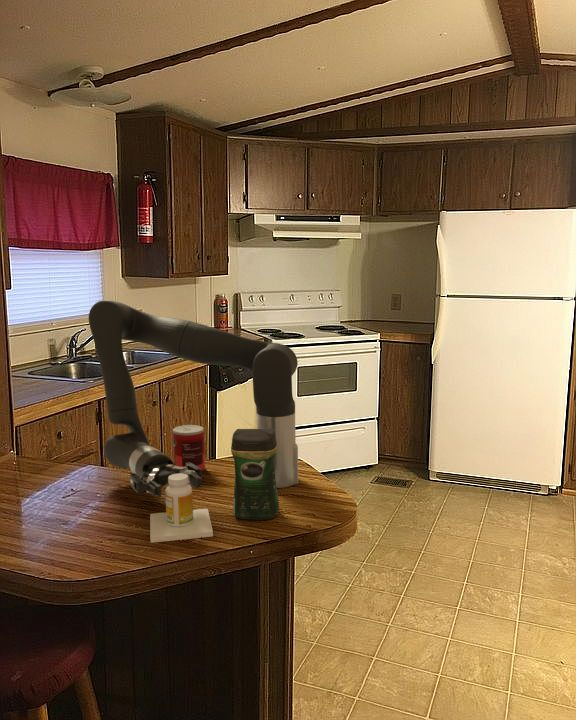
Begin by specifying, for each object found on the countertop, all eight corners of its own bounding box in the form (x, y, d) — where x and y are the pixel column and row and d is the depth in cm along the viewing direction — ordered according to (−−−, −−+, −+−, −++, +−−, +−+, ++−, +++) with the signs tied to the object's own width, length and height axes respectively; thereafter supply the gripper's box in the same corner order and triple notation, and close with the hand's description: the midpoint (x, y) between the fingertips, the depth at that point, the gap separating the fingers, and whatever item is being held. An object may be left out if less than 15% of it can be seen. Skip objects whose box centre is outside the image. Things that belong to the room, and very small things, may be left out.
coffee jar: (280, 507, 143) (279, 424, 140) (276, 522, 136) (274, 434, 133) (236, 506, 144) (234, 424, 141) (230, 521, 137) (227, 434, 134)
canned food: (187, 463, 174) (185, 423, 172) (211, 468, 170) (210, 427, 168) (168, 472, 167) (166, 430, 166) (192, 477, 163) (191, 434, 161)
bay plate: (207, 512, 141) (207, 508, 141) (213, 536, 129) (212, 531, 129) (150, 518, 139) (150, 513, 138) (150, 542, 127) (150, 537, 127)
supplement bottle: (196, 517, 136) (194, 472, 135) (189, 528, 131) (188, 481, 129) (170, 516, 137) (168, 471, 135) (163, 527, 131) (161, 480, 130)
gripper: (118, 455, 142) (144, 476, 128) (180, 444, 149) (211, 463, 135) (120, 488, 143) (146, 513, 129) (181, 476, 150) (212, 498, 137)
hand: (179, 487), depth 132 cm, fingers open, 8 cm apart
